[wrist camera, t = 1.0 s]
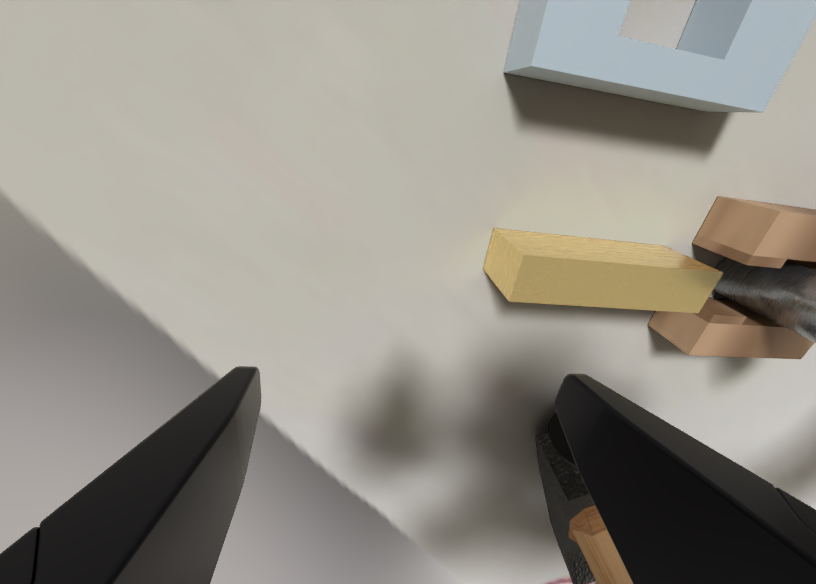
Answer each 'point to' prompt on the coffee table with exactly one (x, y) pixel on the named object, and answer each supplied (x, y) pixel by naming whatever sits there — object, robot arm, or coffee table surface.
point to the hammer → (576, 514)
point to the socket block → (756, 246)
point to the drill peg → (773, 293)
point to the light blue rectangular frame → (663, 51)
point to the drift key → (596, 272)
